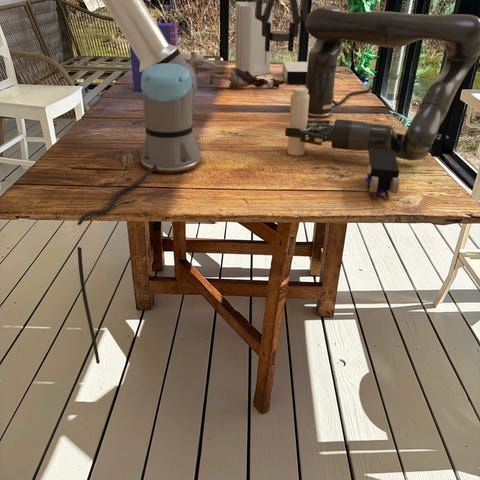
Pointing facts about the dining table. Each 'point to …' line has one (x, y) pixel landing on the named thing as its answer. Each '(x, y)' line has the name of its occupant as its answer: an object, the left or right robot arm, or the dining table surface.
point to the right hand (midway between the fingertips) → (287, 128)
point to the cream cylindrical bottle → (298, 119)
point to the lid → (280, 36)
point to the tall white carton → (251, 40)
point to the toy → (197, 59)
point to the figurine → (246, 79)
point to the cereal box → (171, 37)
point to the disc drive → (295, 72)
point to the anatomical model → (193, 62)
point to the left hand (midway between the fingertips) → (278, 50)
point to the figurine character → (382, 172)
